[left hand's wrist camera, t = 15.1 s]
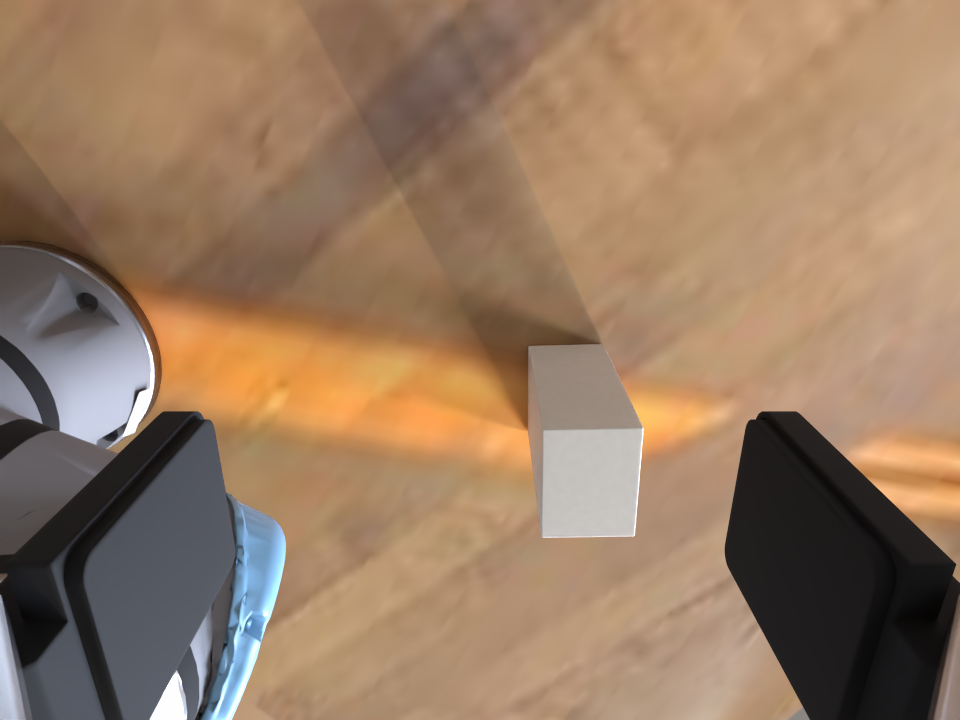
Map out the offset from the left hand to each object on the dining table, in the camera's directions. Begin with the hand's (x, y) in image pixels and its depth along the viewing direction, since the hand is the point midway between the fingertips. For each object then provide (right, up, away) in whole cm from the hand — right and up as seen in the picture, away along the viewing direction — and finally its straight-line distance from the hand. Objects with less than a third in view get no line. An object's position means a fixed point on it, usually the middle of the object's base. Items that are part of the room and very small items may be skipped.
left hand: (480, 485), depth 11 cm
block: (+6, 0, +34) cm, 34 cm away
